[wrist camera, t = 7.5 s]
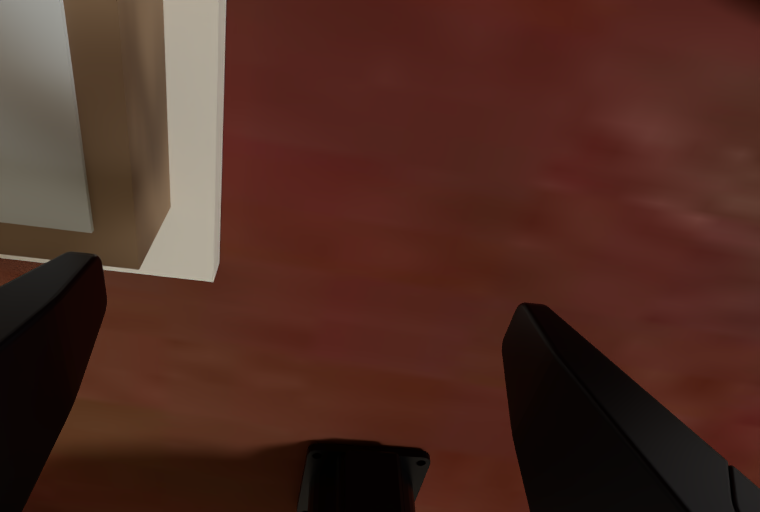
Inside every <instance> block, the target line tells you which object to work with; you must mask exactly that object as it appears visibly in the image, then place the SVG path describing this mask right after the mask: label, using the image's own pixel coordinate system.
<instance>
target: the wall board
mask: <svg viewBox="0 0 760 512" xmlns="http://www.w3.org/2000/svg"><path fill="white" fill-rule="evenodd" d="M163 10H164V38H165V65H166V92H167V120H168V147H169V174H170V202H171V208H170V209H169V211H168V213H167V215H166V217H165V219H164V221H163V223H162V225H161V227H160V229H159V231H158V233H157V235H156V237H155V239H154V241H153V243H152V245H151V247H150V249H149V251H148V253H147V255H146V257H145V259H144V261H143V263H142V265H141V267H140V269H139V270H136V269H128V268H119V267H110V266H103V270H111V271H120V272H129V273H138V274H147V275H156V276H164V277H173V278H182V279H191V280H200V281H209V282H213V281H214V278H215V275H216V272H217V269H218V265H219V255H220V218H221V180H222V142H223V105H224V67H225V30H226V0H163ZM0 258H5V259H14V260H23V261H32V262H40V263H46V262H48V261H50V260H48V259H39V258H30V257H21V256H12V255H3V254H0Z"/></svg>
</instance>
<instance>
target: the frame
mask: <svg viewBox="0 0 760 512" xmlns="http://www.w3.org/2000/svg"><path fill="white" fill-rule="evenodd" d="M170 208H171V202H170V174H169V147H168V120H167V92H166V65H165V38H164V10H163V0H0V254H3V255H12V256H21V257H30V258H39V259H48V260H52V259H54V258H56V257H58V256H60V255H62V254H64V253H66V252H70V251H74V252H83V253H92V254H96V255H98V256H99V257H100V259H101V261H102V265H103V266H110V267H119V268H128V269H136V270H139V269H140V267H141V265H142V263H143V261H144V259H145V257H146V255H147V253H148V251H149V249H150V247H151V245H152V243H153V241H154V239H155V237H156V235H157V233H158V231H159V229H160V227H161V225H162V223H163V221H164V219H165V217H166V215H167V213H168V211H169V209H170Z"/></svg>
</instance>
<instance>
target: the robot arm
mask: <svg viewBox="0 0 760 512" xmlns="http://www.w3.org/2000/svg"><path fill="white" fill-rule="evenodd" d="M106 305H107V295H106V287H105V280H104V272H103V265H102V261H101V259H100V257H99V256H98V255H96V254H92V253H83V252H74V251H70V252H66V253H64V254H62V255H60V256H58V257H56V258H54V259H52V260H50V261H48V262H46V263H44V264H43V265H41V266H39V267H37V268H35V269H33V270H31V271H29V272H27V273H25V274H23V275H22V276H20V277H18V278H16V279H14V280H12V281H10V282H8V283H6V284H4V285H2V286H0V512H22V510H23V508H24V506H25V504H26V502H27V500H28V498H29V496H30V494H31V492H32V490H33V488H34V486H35V484H36V481H37V479H38V477H39V475H40V473H41V471H42V469H43V467H44V465H45V463H46V461H47V459H48V457H49V455H50V453H51V451H52V448H53V446H54V444H55V442H56V440H57V438H58V436H59V434H60V432H61V430H62V428H63V426H64V424H65V422H66V420H67V417H68V415H69V413H70V411H71V408H72V406H73V404H74V402H75V399H76V396H77V393H78V391H79V388H80V385H81V382H82V379H83V376H84V373H85V370H86V367H87V364H88V361H89V359H90V356H91V353H92V350H93V347H94V344H95V341H96V338H97V335H98V332H99V329H100V326H101V323H102V320H103V317H104V314H105V311H106ZM502 356H503V365H504V373H505V381H506V389H507V398H508V406H509V414H510V422H511V429H512V436H513V441H514V445H515V450H516V454H517V458H518V463H519V467H520V471H521V475H522V479H523V484H524V488H525V492H526V496H527V500H528V504H529V509H530V512H760V489H759V488H758V487H757V486H756V485H755V484H754V483H752V482H751V481H750V480H749V479H748V478H747V477H745V476H744V475H743V474H742V473H741V472H740V471H739V470H737V469H736V468H735V467H734V466H732V465H730V466H728V462H727V460H726V459H724V458H723V457H722V456H721V455H720V454H719V453H717V452H716V451H715V450H714V449H713V448H712V447H710V446H709V445H708V444H707V443H706V442H705V441H703V440H702V439H701V438H700V437H699V436H698V435H696V434H695V433H694V432H693V431H692V430H691V429H689V428H688V427H687V426H686V425H685V424H684V423H683V422H681V421H680V420H679V419H678V418H677V417H676V416H674V415H673V414H672V413H671V412H670V411H669V410H667V409H666V408H665V407H664V406H663V405H662V404H660V403H659V402H658V401H657V400H656V399H655V398H653V397H652V396H651V395H650V394H649V393H648V392H646V391H645V390H644V389H643V388H642V387H641V386H639V385H638V384H637V383H636V382H635V381H634V380H633V379H631V378H630V377H629V376H628V375H627V374H626V373H624V372H623V371H622V370H621V369H620V368H619V367H617V366H616V365H615V364H614V363H613V362H612V361H610V360H609V359H608V358H607V357H606V356H605V355H603V354H602V353H601V352H600V351H599V350H598V349H596V348H595V347H594V346H593V345H592V344H591V343H589V342H588V341H587V340H586V339H585V338H584V337H583V336H581V335H580V334H579V333H578V332H577V331H576V330H574V329H573V328H572V327H571V326H570V325H569V324H567V323H566V322H565V321H564V320H563V319H562V318H560V317H559V316H558V315H557V314H556V313H555V312H553V311H552V310H551V309H550V308H549V307H547V306H546V305H543V304H534V303H521V304H520V305H519V306H518V307H517V309H516V311H515V313H514V315H513V318H512V320H511V322H510V325H509V327H508V329H507V332H506V334H505V336H504V339H503V343H502ZM429 465H430V456H429V454H428V453H427V452H425V451H417V450H403V449H389V448H375V447H361V446H347V445H333V444H320V443H317V444H312V445H310V446H309V447H308V451H307V456H306V461H305V467H304V472H303V477H302V483H301V488H300V493H299V499H298V504H297V512H415V503H414V502H415V500H416V497H417V495H418V492H419V490H420V487H421V485H422V482H423V480H424V478H425V475H426V473H427V470H428V468H429Z"/></svg>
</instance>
